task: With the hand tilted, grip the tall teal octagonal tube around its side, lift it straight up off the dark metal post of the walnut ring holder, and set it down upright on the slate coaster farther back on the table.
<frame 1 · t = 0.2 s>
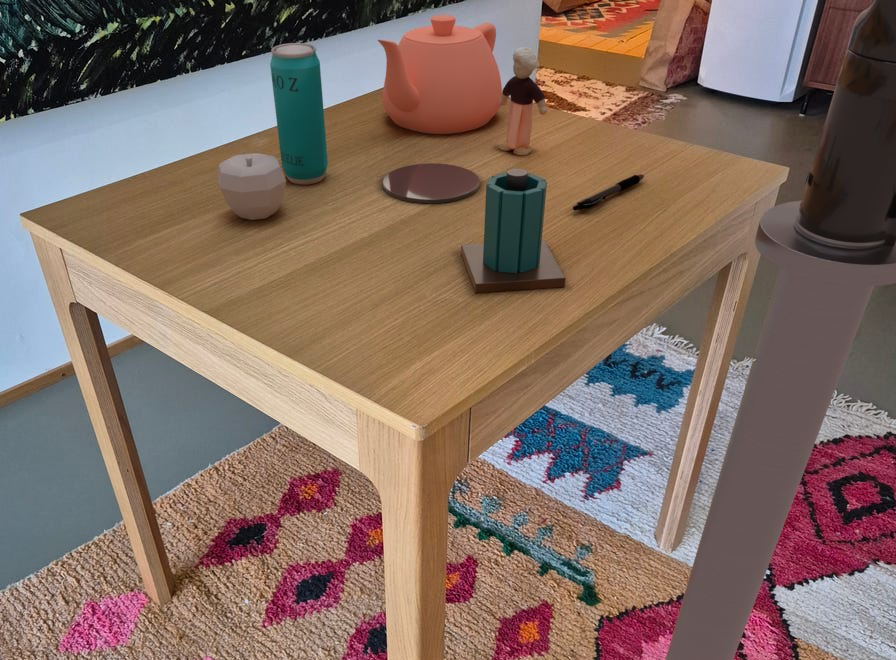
teal octagonal tube: (511, 260, 85), point 1 cm above the table, touching ring holder
teapot: (438, 120, 123), on the table
apple: (256, 216, 97), on the table
beverage can: (306, 179, 106), on the table
slate coaster: (431, 184, 103), on the table
ring holder: (510, 269, 86), on the table
pen: (610, 198, 99), on the table
grandmother figurine: (518, 152, 112), on the table
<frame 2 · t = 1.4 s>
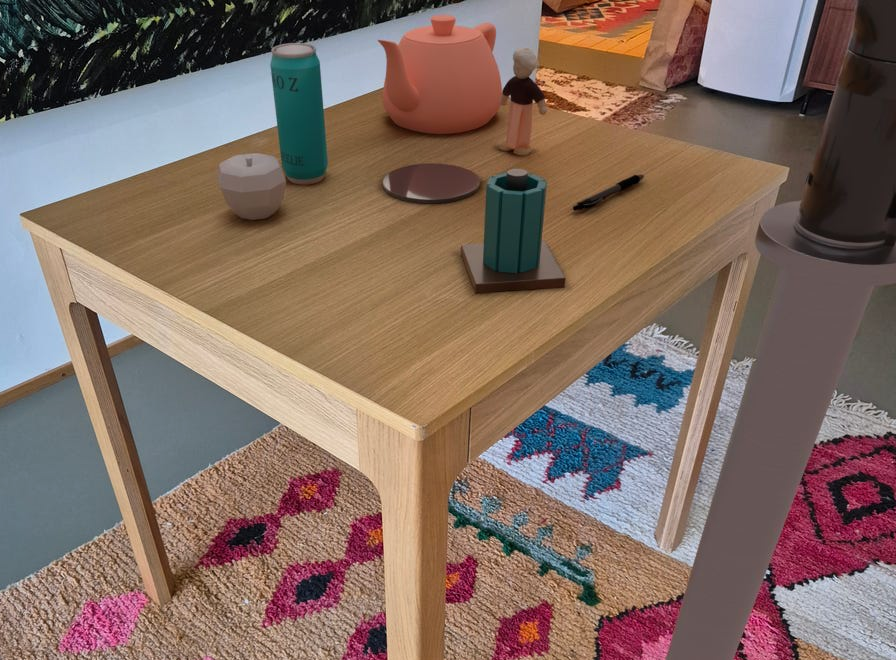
nothing on the table moved.
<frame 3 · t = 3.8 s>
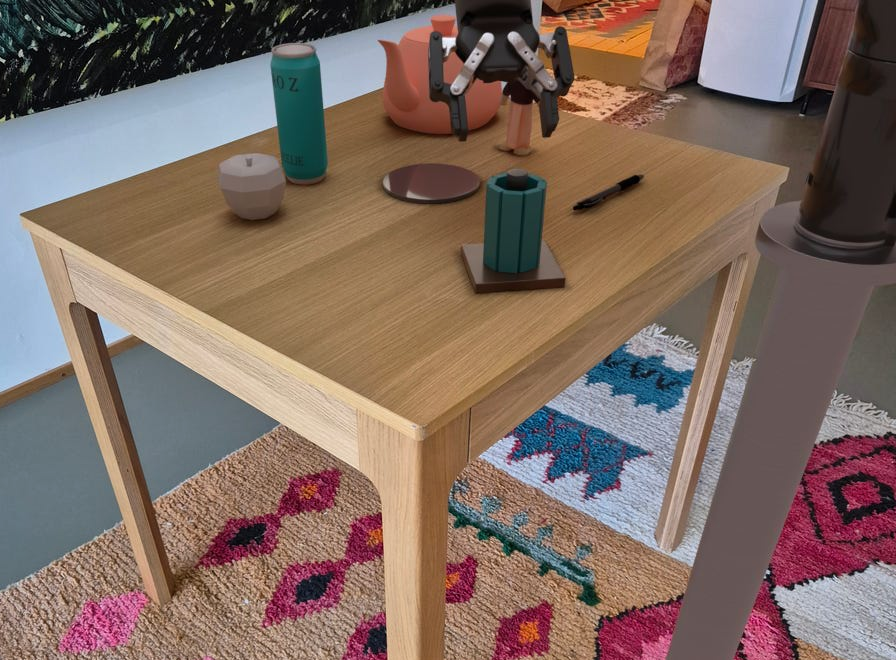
hand: (506, 136, 82), 12 cm above the table, tool tilted 45°, fingers open, 8 cm apart
nothing on the table moved.
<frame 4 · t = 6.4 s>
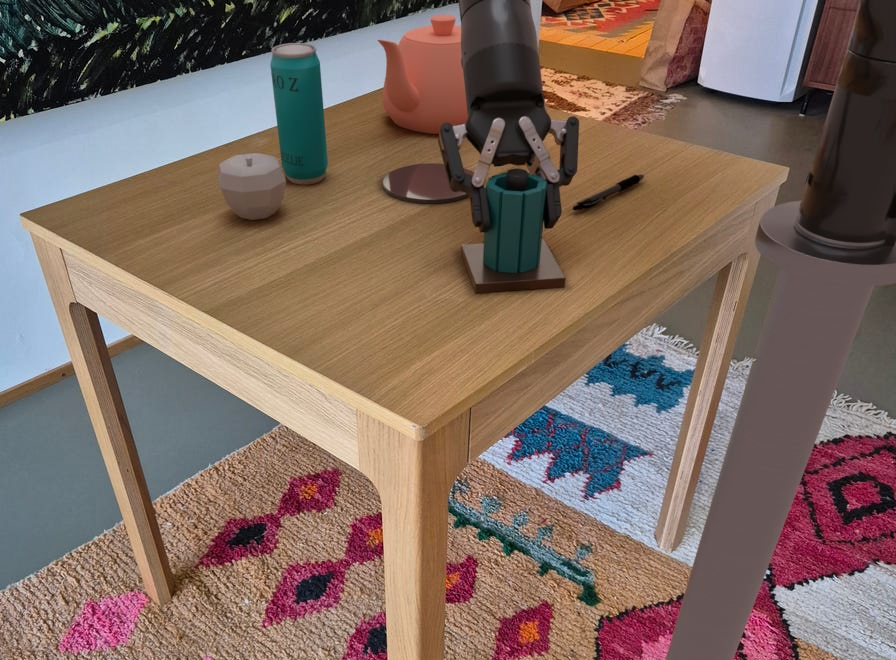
hand: (518, 227, 81), 5 cm above the table, tool tilted 45°, fingers closed on teal octagonal tube, 6 cm apart
teal octagonal tube: (511, 260, 85), point 1 cm above the table, touching gripper, ring holder
everything else where it was.
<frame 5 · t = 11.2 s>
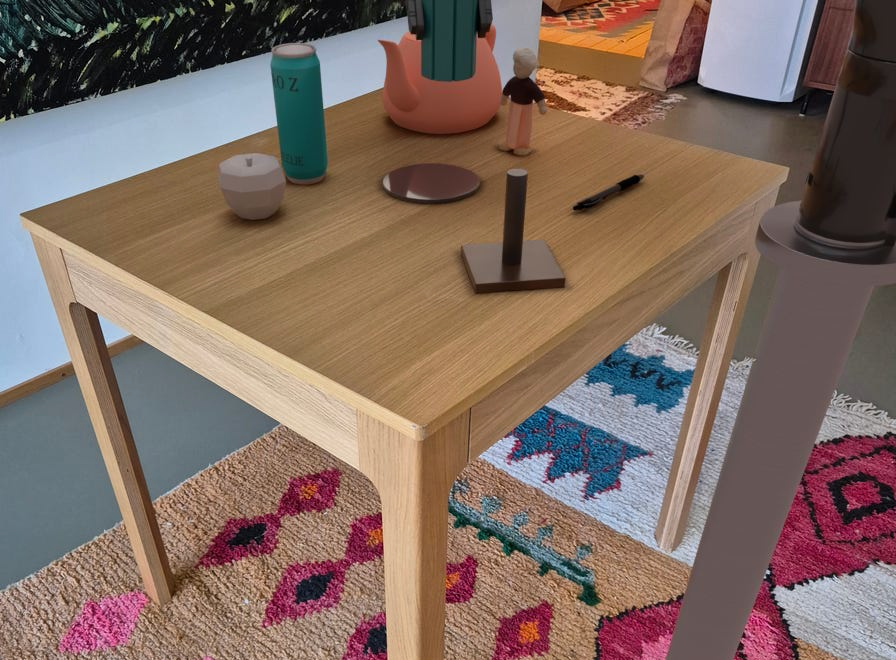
hand: (451, 34, 86), 19 cm above the table, tool tilted 45°, fingers closed on teal octagonal tube, 6 cm apart
teal octagonal tube: (448, 74, 90), point 14 cm above the table, touching gripper
everything else where it was.
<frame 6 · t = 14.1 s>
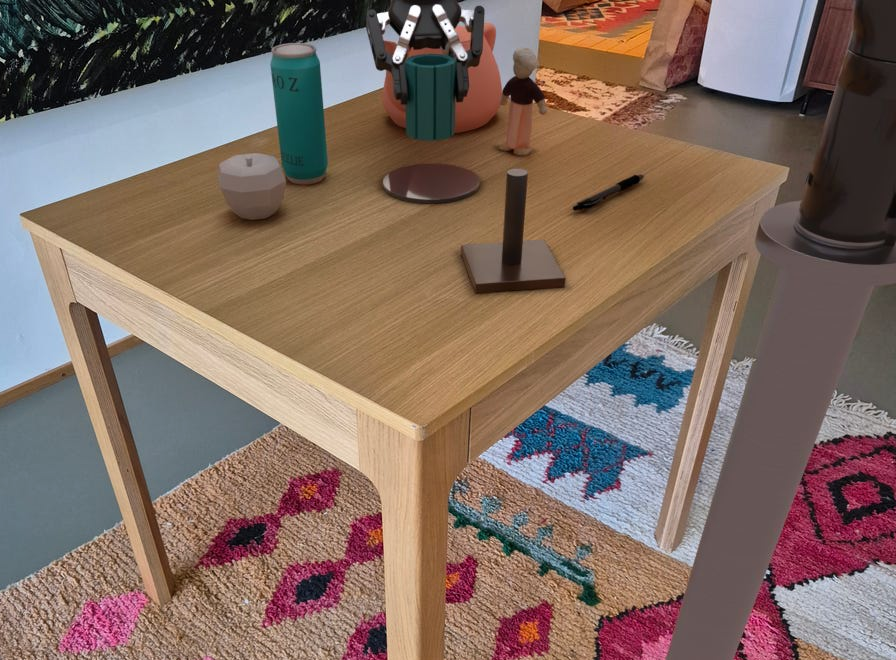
hand: (432, 99, 95), 10 cm above the table, tool tilted 45°, fingers closed on teal octagonal tube, 6 cm apart
teal octagonal tube: (430, 133, 99), point 6 cm above the table, touching gripper
everything else where it was.
when the fingers open (5 cm above the table, at t = 16.3 s): teal octagonal tube stays where it is, resting on slate coaster.
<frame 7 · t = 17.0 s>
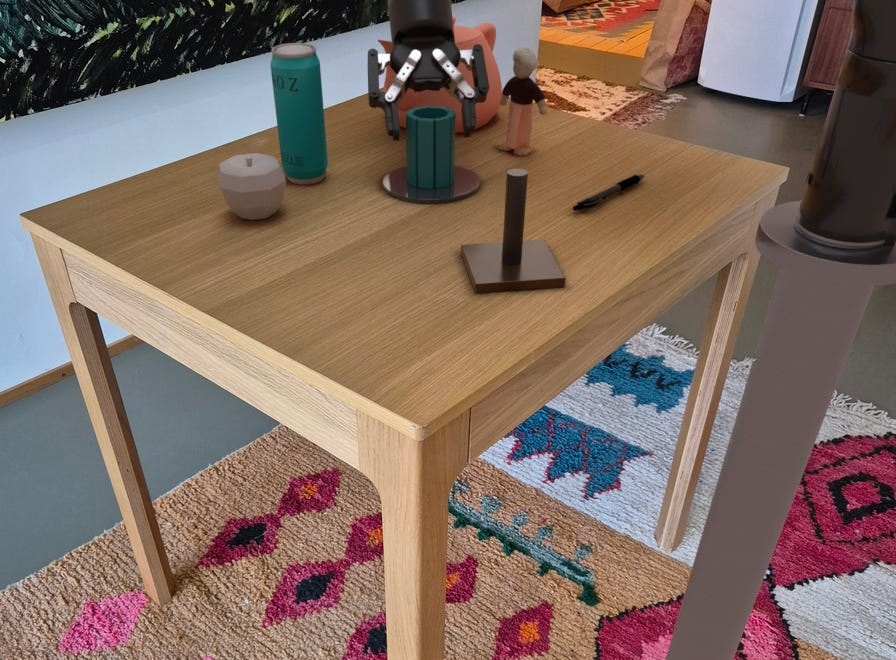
hand: (432, 136, 98), 6 cm above the table, tool tilted 45°, fingers open, 8 cm apart
teal octagonal tube: (430, 180, 103), resting on slate coaster
everything else where it was.
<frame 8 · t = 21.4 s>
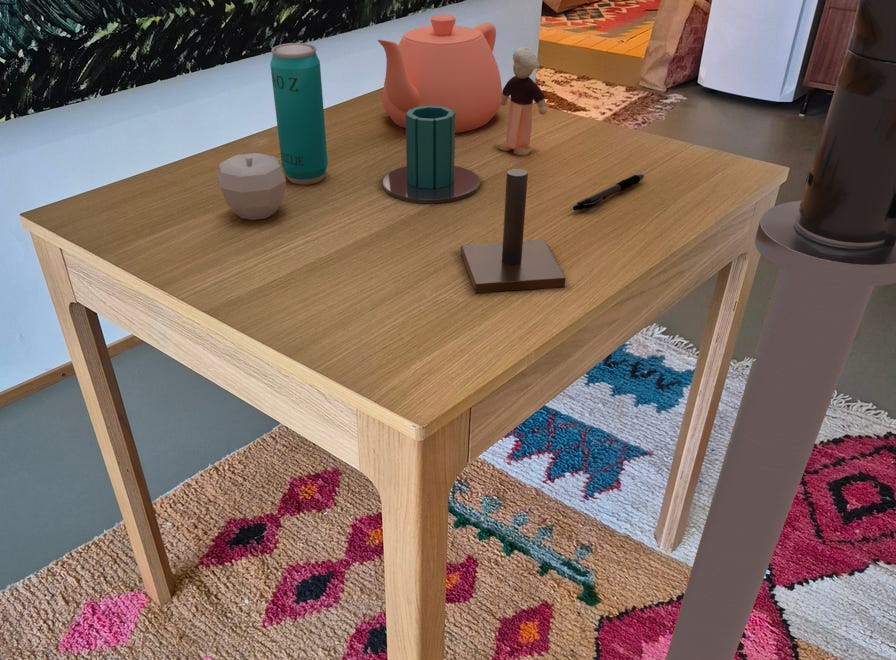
nothing on the table moved.
at the end: teal octagonal tube inside the target area on the slate coaster (0.1 cm from its centre), point 0.5 cm above the slate coaster's base; teal octagonal tube tilted 0°; the gripper is holding nothing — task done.
